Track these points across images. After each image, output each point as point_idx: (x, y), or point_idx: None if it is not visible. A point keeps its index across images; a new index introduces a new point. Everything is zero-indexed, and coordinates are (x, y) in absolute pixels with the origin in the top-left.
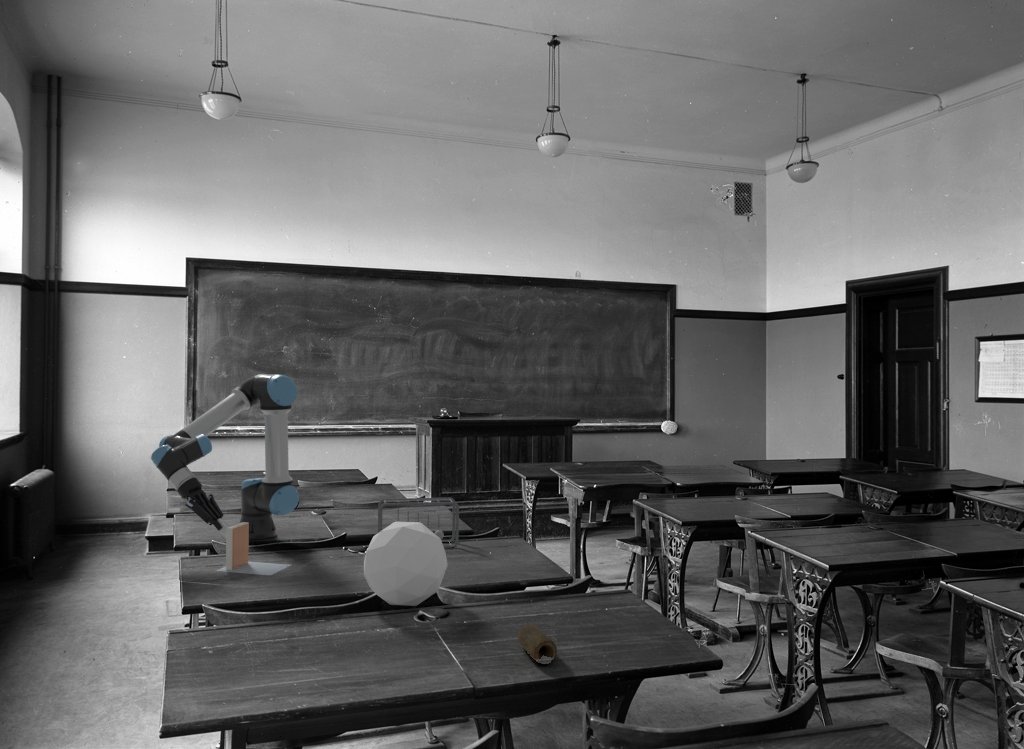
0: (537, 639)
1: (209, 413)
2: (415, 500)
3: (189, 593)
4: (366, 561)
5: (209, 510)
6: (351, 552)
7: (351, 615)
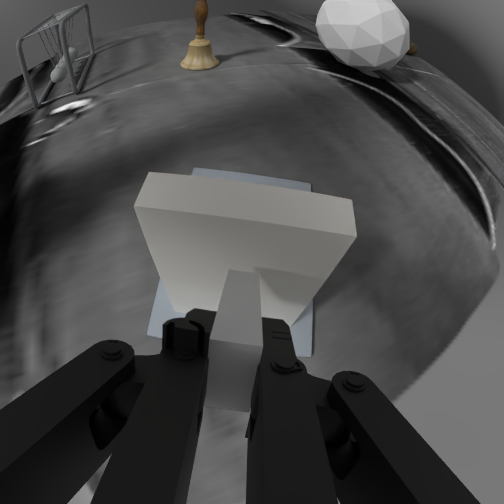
0: (414, 44)
1: None
2: (45, 22)
3: (478, 305)
4: (403, 42)
5: (300, 474)
6: (78, 118)
7: (412, 97)
